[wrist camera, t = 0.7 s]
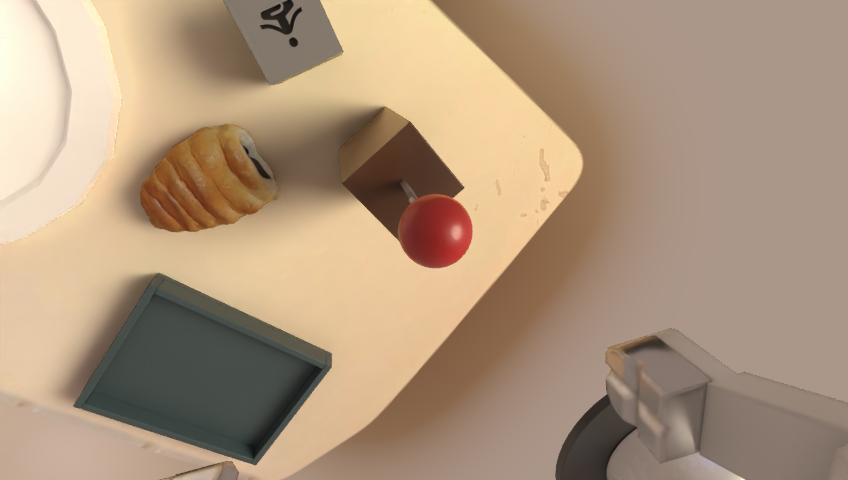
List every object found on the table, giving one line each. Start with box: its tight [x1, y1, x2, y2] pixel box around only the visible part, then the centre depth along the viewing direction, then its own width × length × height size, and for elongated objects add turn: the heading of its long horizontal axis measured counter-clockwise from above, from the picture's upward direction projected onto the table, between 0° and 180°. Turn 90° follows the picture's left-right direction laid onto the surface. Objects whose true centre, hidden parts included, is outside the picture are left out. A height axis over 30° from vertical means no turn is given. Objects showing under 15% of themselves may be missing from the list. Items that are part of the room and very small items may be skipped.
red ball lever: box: [339, 107, 472, 268], centre depth 24 cm, size 5×5×20 cm
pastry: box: [140, 124, 280, 232], centre depth 30 cm, size 9×7×4 cm
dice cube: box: [223, 0, 343, 85], centre depth 27 cm, size 5×5×5 cm
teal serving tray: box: [73, 273, 332, 465], centre depth 37 cm, size 16×13×2 cm
